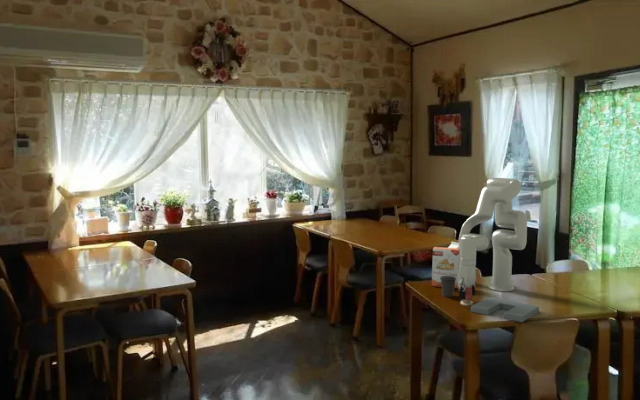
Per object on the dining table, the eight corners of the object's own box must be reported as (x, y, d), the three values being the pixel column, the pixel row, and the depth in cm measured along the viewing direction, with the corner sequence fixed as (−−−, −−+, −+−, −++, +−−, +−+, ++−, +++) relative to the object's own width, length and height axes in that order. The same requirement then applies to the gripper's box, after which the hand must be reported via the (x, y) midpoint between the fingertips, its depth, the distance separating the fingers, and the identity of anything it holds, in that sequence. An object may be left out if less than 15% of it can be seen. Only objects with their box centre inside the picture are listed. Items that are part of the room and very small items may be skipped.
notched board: (489, 302, 277) (489, 297, 277) (538, 311, 262) (539, 306, 262) (470, 311, 262) (470, 306, 262) (521, 322, 247) (522, 316, 246)
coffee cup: (456, 298, 284) (456, 278, 283) (439, 297, 286) (440, 277, 285) (455, 294, 292) (456, 274, 291) (439, 293, 294) (439, 274, 293)
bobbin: (463, 301, 279) (464, 281, 278) (475, 303, 275) (475, 283, 274) (458, 304, 274) (458, 283, 273) (469, 306, 270) (470, 285, 269)
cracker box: (431, 286, 307) (432, 248, 305) (433, 283, 313) (434, 246, 310) (458, 288, 302) (459, 250, 300) (459, 286, 308) (460, 248, 306)
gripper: (468, 258, 281) (467, 292, 283) (452, 264, 268) (451, 299, 270) (483, 260, 276) (482, 294, 278) (466, 266, 263) (465, 302, 265)
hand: (466, 297), depth 274 cm, fingers open, 9 cm apart
